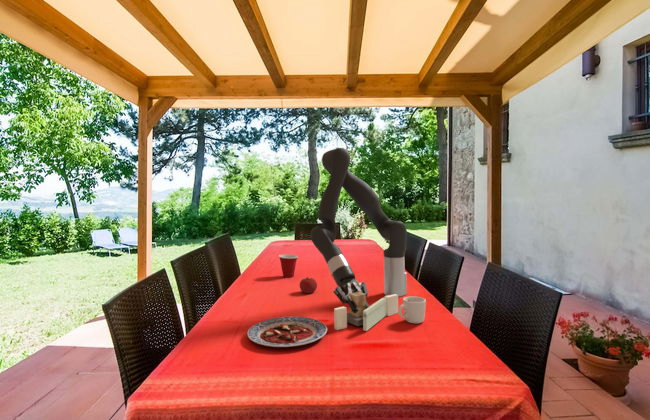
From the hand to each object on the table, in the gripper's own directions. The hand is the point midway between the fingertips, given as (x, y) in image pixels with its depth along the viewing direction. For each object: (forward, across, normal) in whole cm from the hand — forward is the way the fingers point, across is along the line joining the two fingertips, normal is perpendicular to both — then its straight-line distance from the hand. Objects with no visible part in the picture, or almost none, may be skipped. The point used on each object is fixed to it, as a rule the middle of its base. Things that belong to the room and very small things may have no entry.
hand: (361, 310), depth 130 cm
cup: (+10, +15, -3) cm, 18 cm away
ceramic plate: (-1, -26, +9) cm, 27 cm away
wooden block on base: (+1, 0, +4) cm, 5 cm away
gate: (+5, +4, +1) cm, 7 cm away
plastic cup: (-53, +17, +63) cm, 85 cm away
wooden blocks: (+2, +5, +5) cm, 7 cm away
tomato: (-29, +8, +38) cm, 49 cm away
